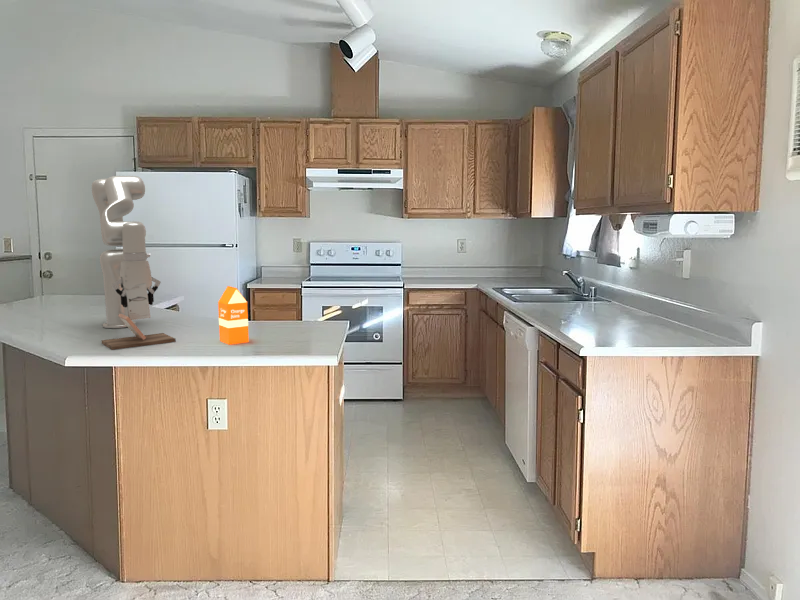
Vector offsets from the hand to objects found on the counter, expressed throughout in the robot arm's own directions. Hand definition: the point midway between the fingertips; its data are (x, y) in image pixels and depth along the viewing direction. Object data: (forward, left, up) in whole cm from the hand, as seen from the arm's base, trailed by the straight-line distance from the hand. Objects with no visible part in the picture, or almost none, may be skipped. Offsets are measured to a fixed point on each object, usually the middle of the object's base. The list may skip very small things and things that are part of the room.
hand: (137, 305), depth 242 cm
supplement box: (-1, +1, -5) cm, 5 cm away
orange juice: (+21, +27, -14) cm, 37 cm away
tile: (+1, -2, -7) cm, 7 cm away
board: (+1, -1, -13) cm, 14 cm away
